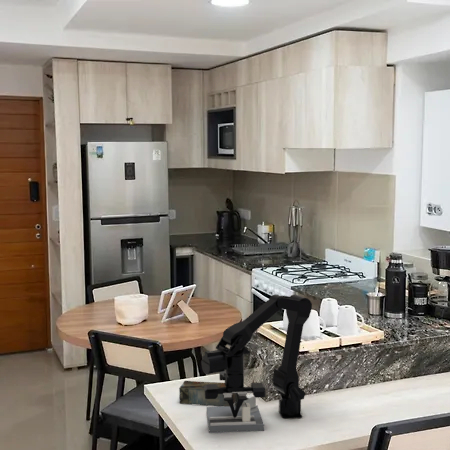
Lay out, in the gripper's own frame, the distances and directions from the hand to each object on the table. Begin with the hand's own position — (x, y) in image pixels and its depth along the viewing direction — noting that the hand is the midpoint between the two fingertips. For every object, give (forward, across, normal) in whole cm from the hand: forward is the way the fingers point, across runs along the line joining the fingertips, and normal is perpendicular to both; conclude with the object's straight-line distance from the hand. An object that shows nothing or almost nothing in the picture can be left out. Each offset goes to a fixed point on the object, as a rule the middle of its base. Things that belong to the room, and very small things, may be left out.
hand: (234, 417), depth 196 cm
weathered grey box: (+4, +7, -22) cm, 23 cm away
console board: (+3, 0, -4) cm, 6 cm away
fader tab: (+1, -4, 0) cm, 4 cm away
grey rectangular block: (+1, -5, -9) cm, 11 cm away
